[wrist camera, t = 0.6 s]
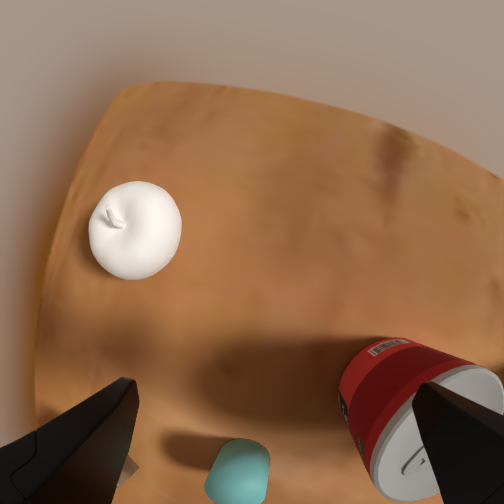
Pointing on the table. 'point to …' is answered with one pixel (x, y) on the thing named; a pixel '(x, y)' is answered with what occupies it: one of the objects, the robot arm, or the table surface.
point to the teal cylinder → (239, 473)
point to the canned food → (404, 409)
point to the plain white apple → (135, 230)
